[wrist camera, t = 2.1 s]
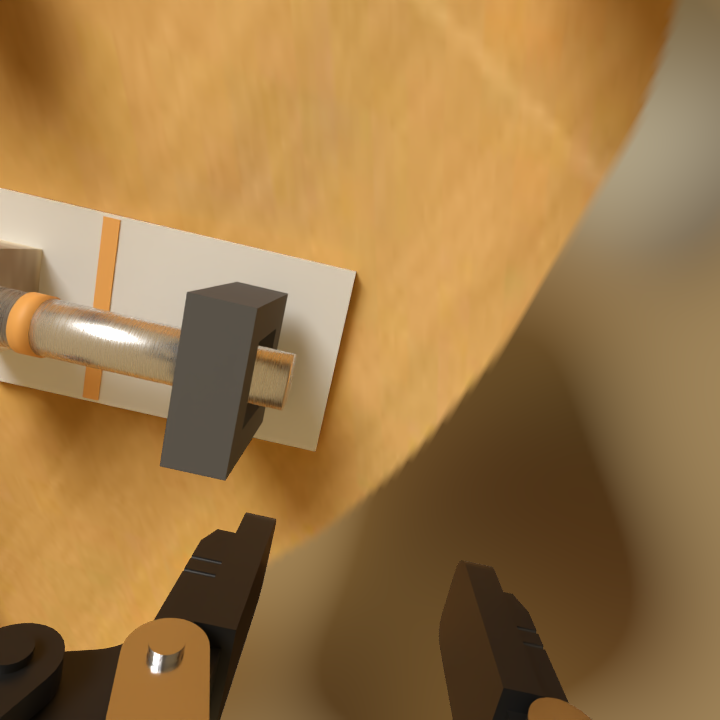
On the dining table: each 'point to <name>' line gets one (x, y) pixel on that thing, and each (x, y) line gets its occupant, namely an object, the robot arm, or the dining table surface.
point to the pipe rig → (153, 312)
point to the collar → (218, 376)
